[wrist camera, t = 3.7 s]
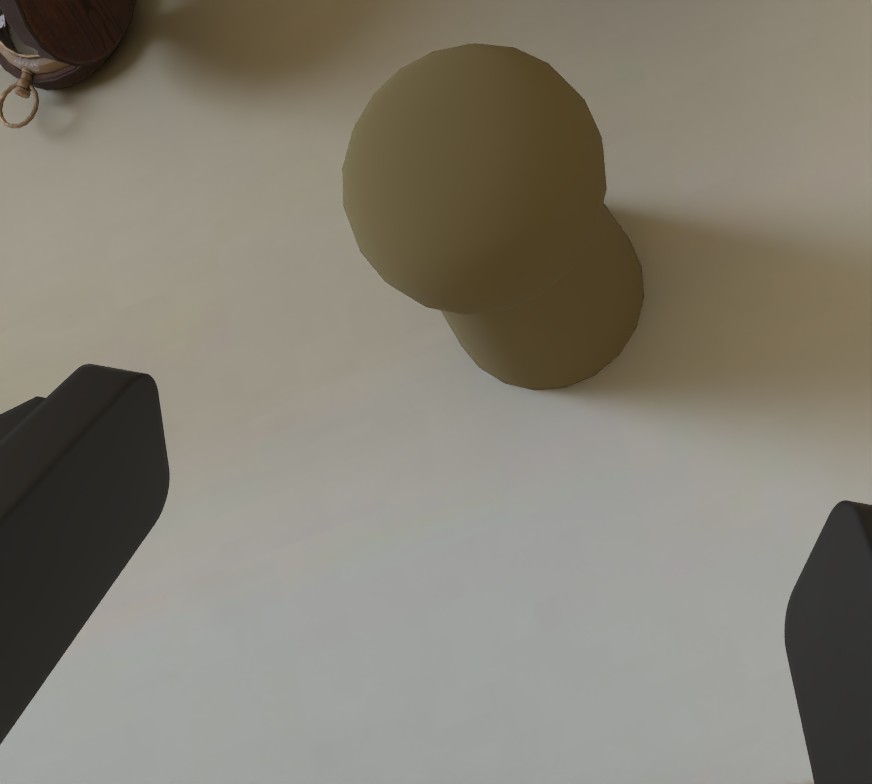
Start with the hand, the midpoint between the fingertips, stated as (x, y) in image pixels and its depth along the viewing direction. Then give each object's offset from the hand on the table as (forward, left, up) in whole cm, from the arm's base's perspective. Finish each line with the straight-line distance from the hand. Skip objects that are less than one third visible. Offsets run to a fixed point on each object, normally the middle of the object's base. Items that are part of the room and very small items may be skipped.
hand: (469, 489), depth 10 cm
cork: (-6, +3, -15) cm, 16 cm away
